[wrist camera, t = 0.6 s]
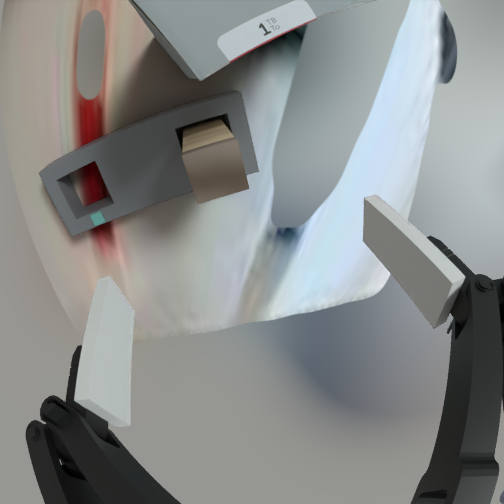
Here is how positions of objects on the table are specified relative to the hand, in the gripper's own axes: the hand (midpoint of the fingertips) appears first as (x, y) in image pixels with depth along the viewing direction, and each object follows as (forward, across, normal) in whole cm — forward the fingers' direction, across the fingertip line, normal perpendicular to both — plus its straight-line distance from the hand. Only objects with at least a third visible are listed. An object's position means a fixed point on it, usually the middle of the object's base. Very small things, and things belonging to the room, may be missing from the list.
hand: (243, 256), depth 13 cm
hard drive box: (+25, +6, +14) cm, 29 cm away
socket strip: (+24, -8, 0) cm, 26 cm away
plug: (+24, 0, 0) cm, 25 cm away
